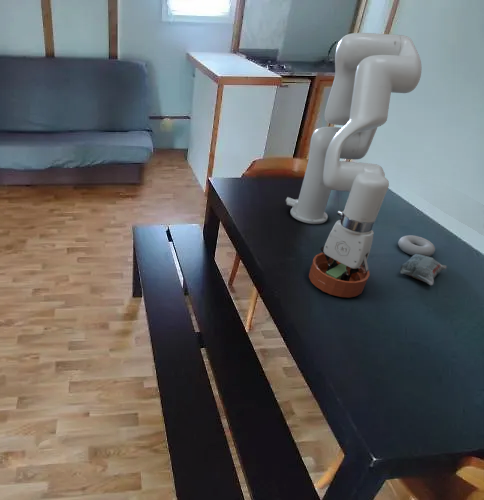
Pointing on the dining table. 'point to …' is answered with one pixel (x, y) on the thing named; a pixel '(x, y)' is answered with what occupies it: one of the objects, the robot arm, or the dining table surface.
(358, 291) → the bowl
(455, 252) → the dining table surface
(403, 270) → the packaged food
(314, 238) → the dining table surface
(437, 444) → the dining table surface
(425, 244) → the donut
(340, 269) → the bar
